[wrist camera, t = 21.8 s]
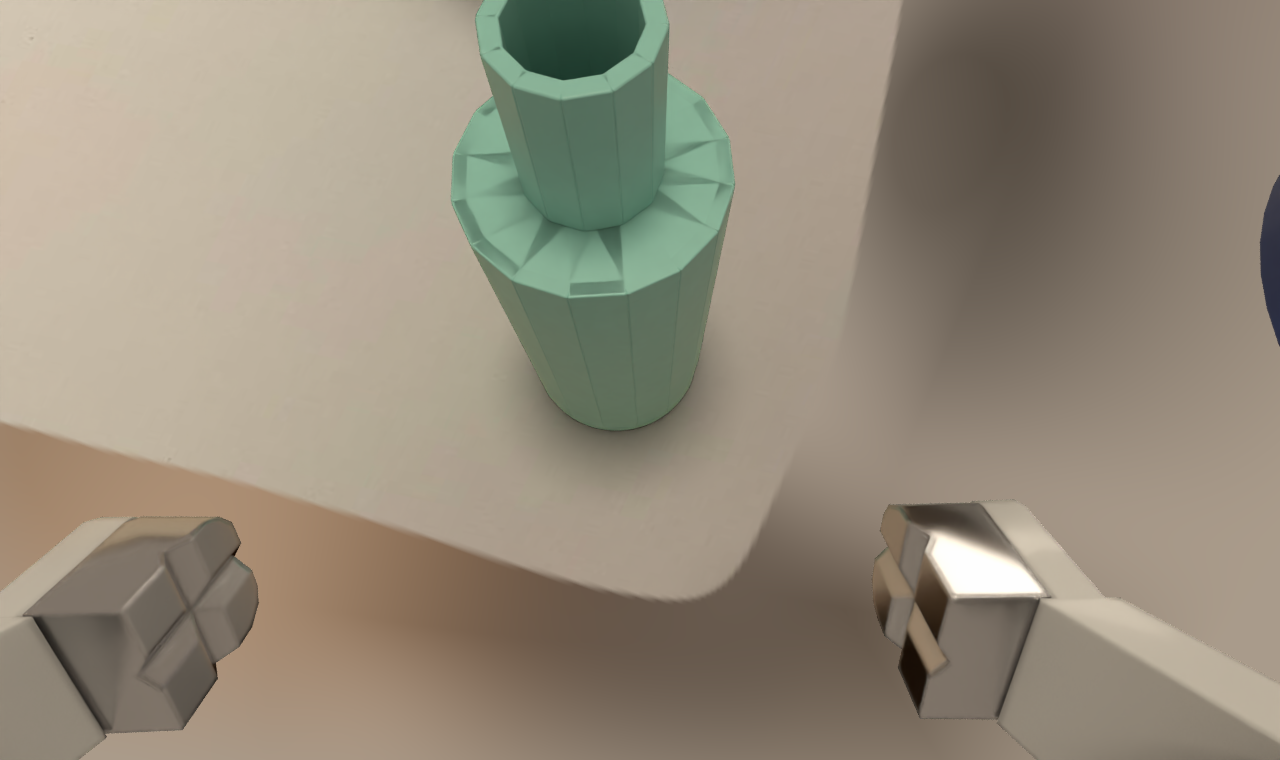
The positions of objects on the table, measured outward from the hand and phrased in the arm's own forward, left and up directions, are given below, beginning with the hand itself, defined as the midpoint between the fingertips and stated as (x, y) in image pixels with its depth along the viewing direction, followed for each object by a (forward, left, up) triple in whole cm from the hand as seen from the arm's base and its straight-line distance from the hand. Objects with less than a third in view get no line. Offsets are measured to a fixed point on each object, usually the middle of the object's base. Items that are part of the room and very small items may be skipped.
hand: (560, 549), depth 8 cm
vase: (+3, -8, -16) cm, 18 cm away
